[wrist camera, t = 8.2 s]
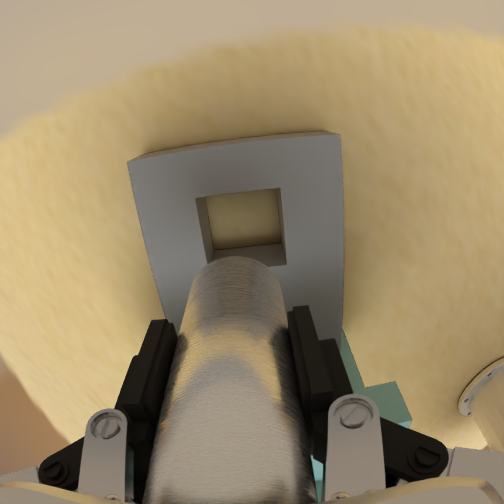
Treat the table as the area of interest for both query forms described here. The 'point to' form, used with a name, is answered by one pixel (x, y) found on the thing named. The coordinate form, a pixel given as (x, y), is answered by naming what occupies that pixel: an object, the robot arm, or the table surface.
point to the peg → (232, 398)
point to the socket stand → (273, 255)
